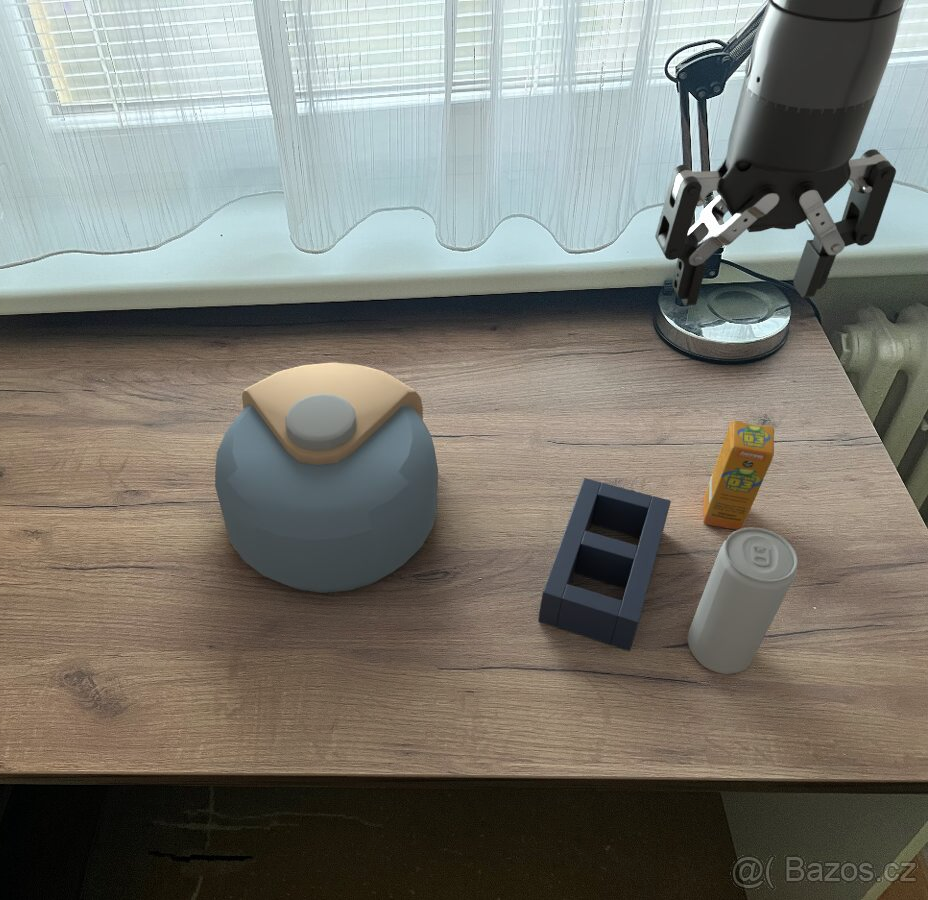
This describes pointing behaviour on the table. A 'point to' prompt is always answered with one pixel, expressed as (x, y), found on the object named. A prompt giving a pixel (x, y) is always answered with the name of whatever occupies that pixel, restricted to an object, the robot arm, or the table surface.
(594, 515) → the holder
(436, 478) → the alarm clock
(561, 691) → the table surface
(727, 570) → the beverage can
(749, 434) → the supplement box
